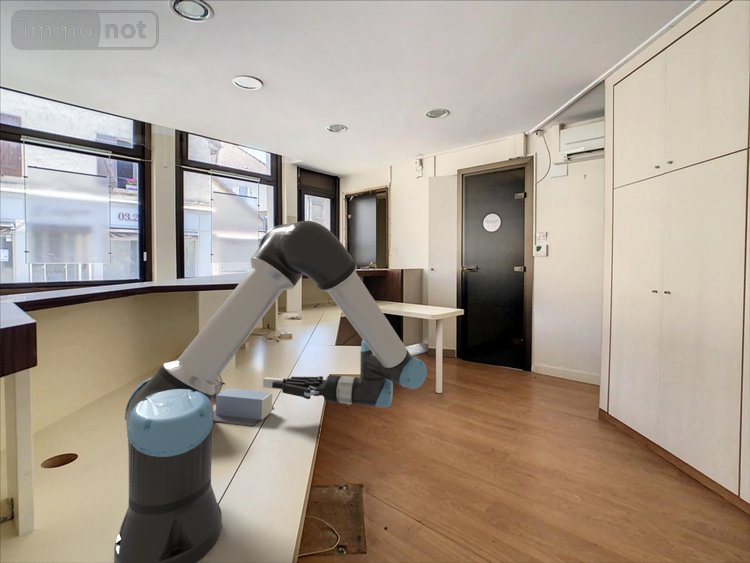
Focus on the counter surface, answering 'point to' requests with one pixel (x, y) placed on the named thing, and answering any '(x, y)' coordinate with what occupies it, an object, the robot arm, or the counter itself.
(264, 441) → the counter surface
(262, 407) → the plain blue-gray rectangular block
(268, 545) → the counter surface
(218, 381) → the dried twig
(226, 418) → the mat
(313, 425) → the counter surface
